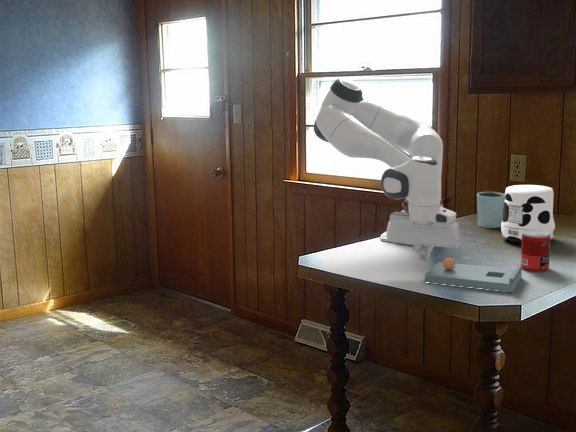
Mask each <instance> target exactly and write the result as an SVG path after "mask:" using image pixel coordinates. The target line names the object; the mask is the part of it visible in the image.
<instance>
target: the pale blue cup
mask: <svg viewBox="0 0 576 432" xmlns="http://www.w3.org/2000/svg"><path fill="white" fill-rule="evenodd" d="M476 203H477V205H476V207H477V226H478V227H479V228H480V227H481V228H484V229H496V228H501V223H502V219H503V216H504V211H505V193H502V192H498V191H482V192H481V191H480V192H478V193H476Z"/></svg>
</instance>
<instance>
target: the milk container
mask: <svg viewBox="0 0 576 432" xmlns="http://www.w3.org/2000/svg"><path fill="white" fill-rule="evenodd" d="M553 189H554V188H553V187H550V186H545V185H538V184H517V185H516V184H515V185H511V186H507V187H506V188H505V192H504V194H505V201H504V210H503V217H502V223H501V227H500V230H501V235H502V237H503V238H504V239H506V240H507V241H510V242H513V243H519V244H522V232H523V231H525V230H544V231H547V232H550V241H551V240H552V239H553V238H554V236H555V230H556V223H555V220H554V213H553V211H554V197H555V196H554V190H553Z"/></svg>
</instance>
